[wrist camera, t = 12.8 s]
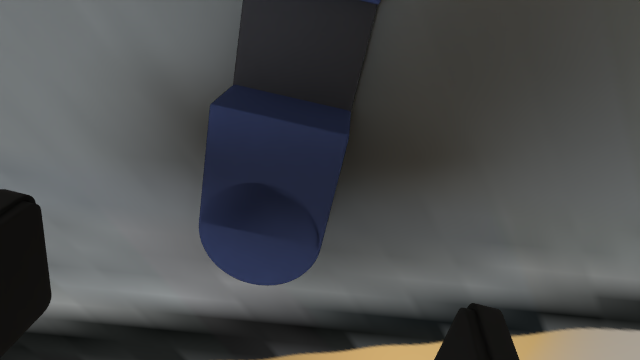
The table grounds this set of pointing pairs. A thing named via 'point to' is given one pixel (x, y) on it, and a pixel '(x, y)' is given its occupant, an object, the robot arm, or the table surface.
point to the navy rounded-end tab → (281, 135)
